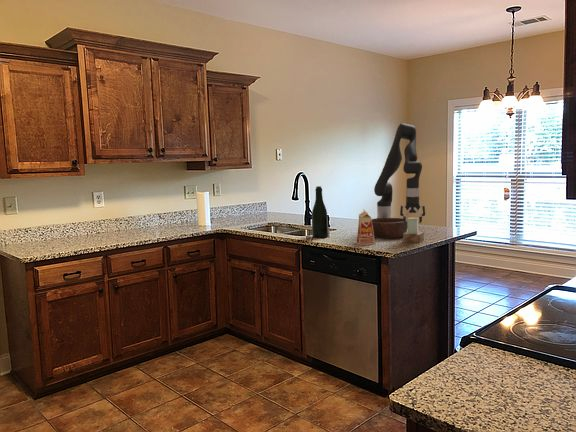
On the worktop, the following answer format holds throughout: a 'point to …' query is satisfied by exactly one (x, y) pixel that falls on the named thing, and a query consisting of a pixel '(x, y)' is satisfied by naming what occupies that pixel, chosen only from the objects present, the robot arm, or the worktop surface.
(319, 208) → the beer bottle
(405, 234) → the walnut block
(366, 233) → the milk carton
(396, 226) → the wooden bowl
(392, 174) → the robot arm
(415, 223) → the canister
